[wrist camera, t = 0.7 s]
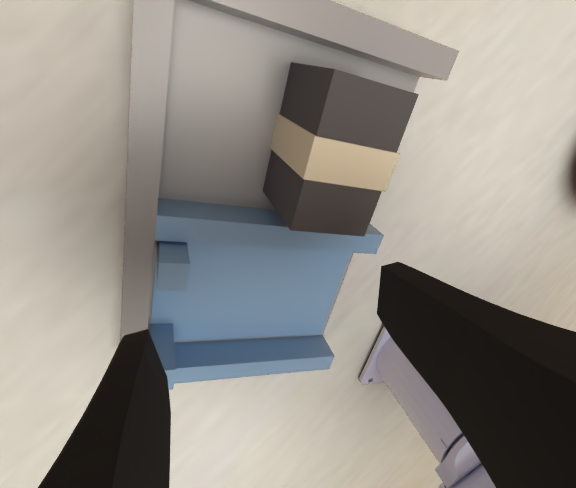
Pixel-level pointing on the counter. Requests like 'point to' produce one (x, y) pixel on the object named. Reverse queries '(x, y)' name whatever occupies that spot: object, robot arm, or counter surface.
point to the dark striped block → (334, 149)
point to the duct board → (237, 180)
